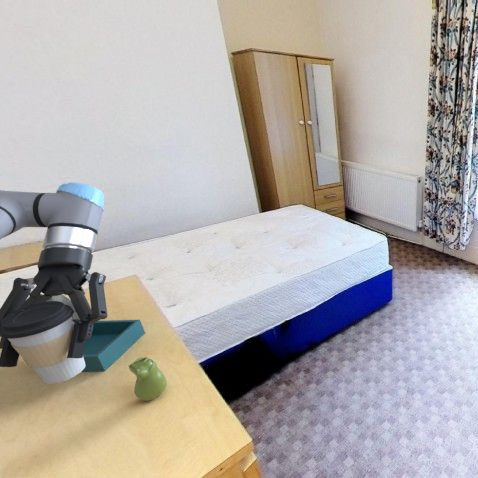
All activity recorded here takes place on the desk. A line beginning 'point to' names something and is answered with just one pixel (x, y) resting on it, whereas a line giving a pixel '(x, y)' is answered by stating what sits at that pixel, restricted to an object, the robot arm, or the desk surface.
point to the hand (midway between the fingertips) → (41, 362)
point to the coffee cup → (44, 339)
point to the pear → (148, 379)
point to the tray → (110, 342)
